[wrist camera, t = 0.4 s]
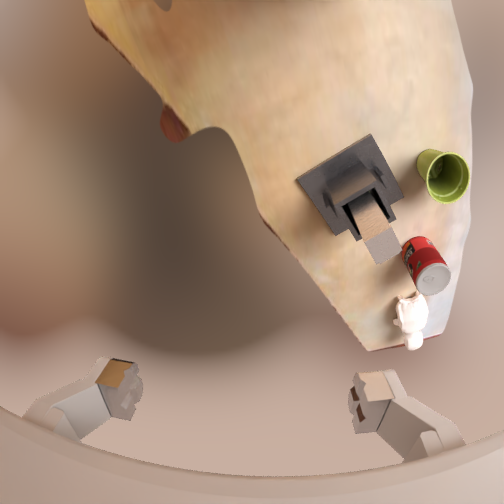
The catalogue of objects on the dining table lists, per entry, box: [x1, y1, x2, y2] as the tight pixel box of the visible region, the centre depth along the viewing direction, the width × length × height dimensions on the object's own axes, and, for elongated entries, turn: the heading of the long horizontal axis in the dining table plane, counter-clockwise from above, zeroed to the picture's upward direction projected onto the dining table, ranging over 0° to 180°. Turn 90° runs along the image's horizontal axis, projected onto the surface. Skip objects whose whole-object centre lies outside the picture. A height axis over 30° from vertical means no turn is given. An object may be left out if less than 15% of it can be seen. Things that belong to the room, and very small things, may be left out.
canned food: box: [402, 236, 451, 296], centre depth 54 cm, size 8×8×11 cm
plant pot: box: [417, 149, 470, 204], centre depth 45 cm, size 9×9×9 cm
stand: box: [297, 134, 404, 241], centre depth 48 cm, size 16×14×13 cm
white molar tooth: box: [393, 291, 428, 350], centre depth 65 cm, size 8×8×15 cm
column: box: [348, 191, 402, 264], centre depth 44 cm, size 4×5×20 cm
